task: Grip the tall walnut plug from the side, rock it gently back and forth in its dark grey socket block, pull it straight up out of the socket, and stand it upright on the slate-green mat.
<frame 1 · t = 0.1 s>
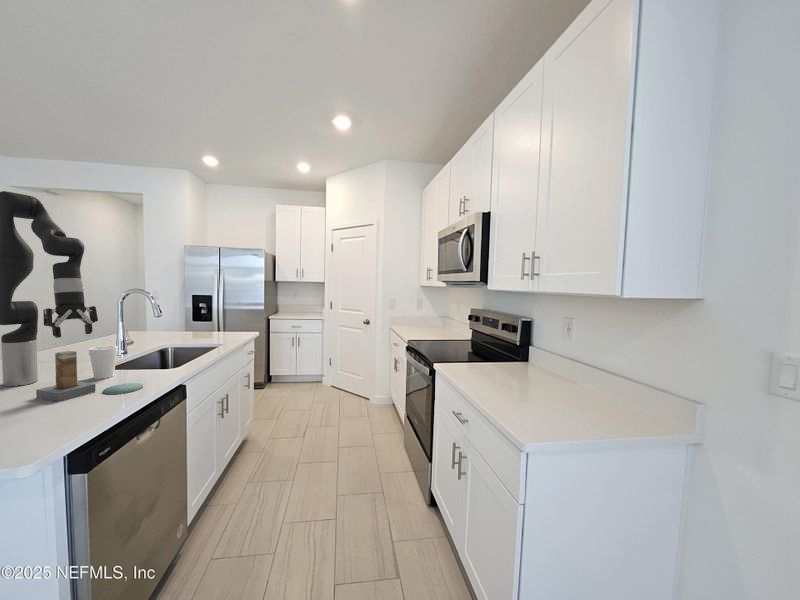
hand: (73, 335, 119), 22 cm above the countertop, tool pointing down, fingers open, 8 cm apart
foam cup: (104, 377, 143), on the countertop
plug: (66, 373, 120), in the socket block
socket block: (66, 394, 121), on the countertop
mat: (123, 389, 128), on the countertop
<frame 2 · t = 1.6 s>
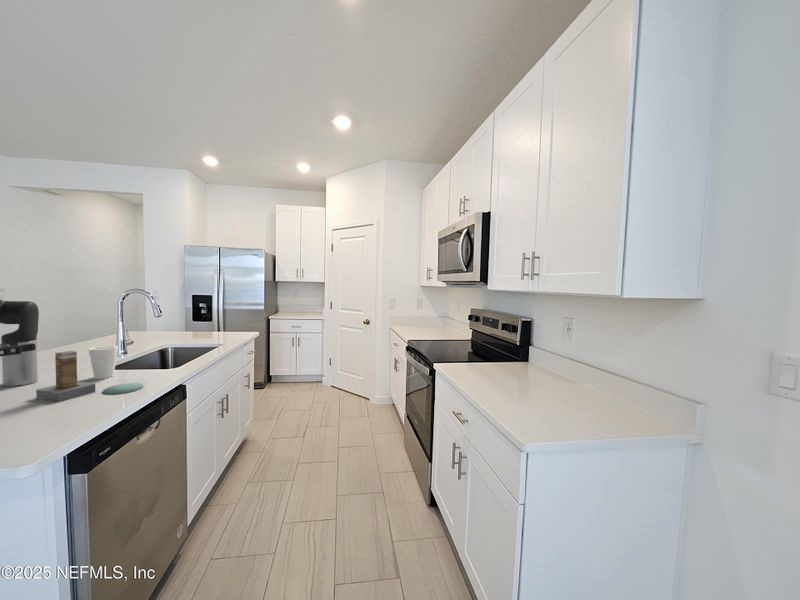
hand: (25, 345, 109), 20 cm above the countertop, tool horizontal, fingers open, 8 cm apart
nothing on the countertop moved.
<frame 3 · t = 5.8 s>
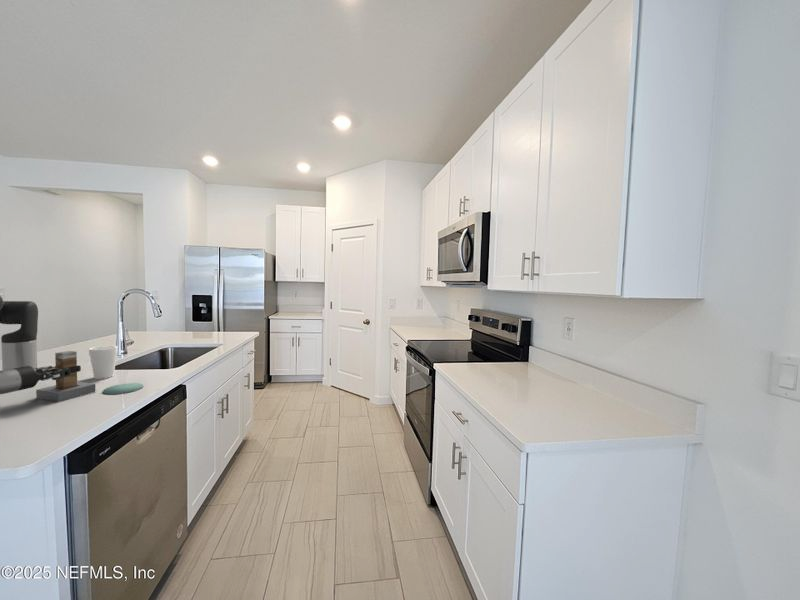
hand: (75, 367, 123), 10 cm above the countertop, tool horizontal, fingers closed on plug, 4 cm apart
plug: (66, 373, 120), in the socket block, touching gripper
everything else where it was.
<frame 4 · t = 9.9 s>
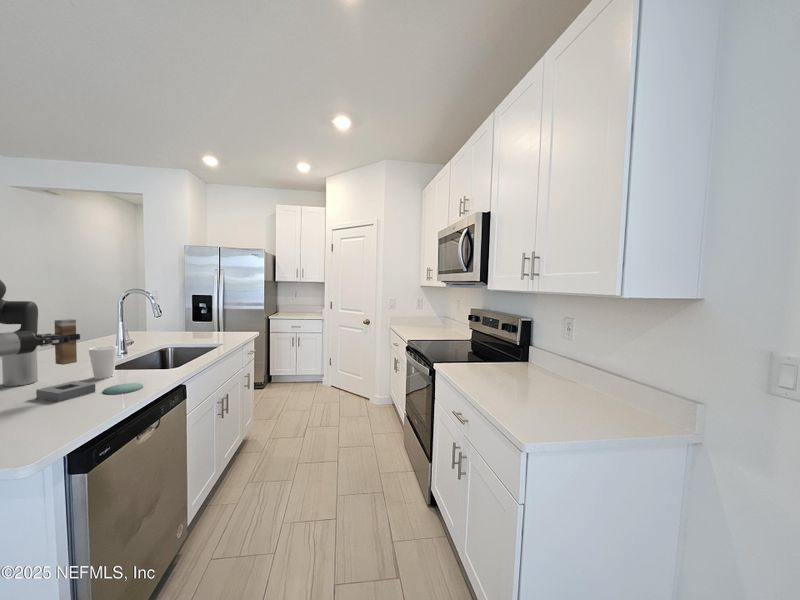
hand: (74, 336, 122), 21 cm above the countertop, tool horizontal, fingers closed on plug, 4 cm apart
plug: (65, 341, 120), point 20 cm above the countertop, touching gripper
everything else where it was.
when the fingers open (11 cm above the countertop, at t = 14.1 s): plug drops 1 cm, resting on mat.
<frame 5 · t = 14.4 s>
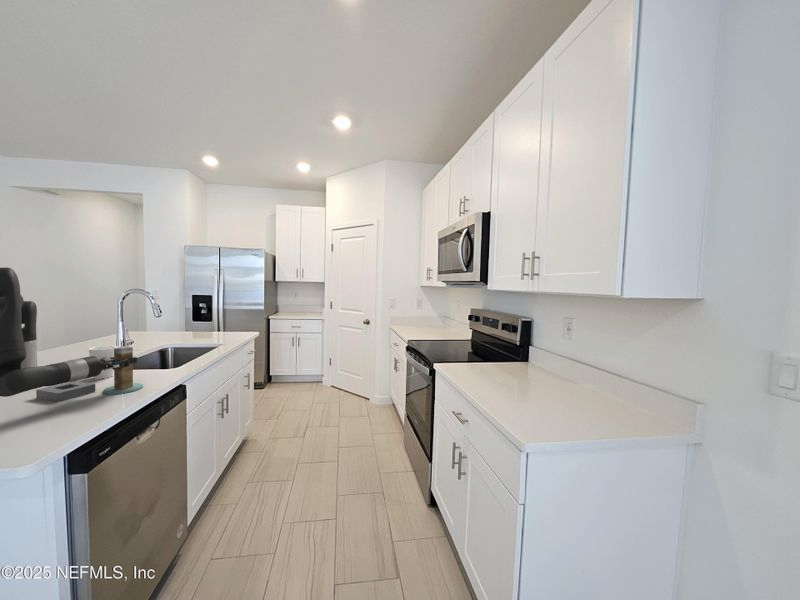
hand: (129, 358, 130), 12 cm above the countertop, tool horizontal, fingers open, 6 cm apart
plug: (123, 367, 128), on the mat, point 9 cm above the countertop
everything else where it was.
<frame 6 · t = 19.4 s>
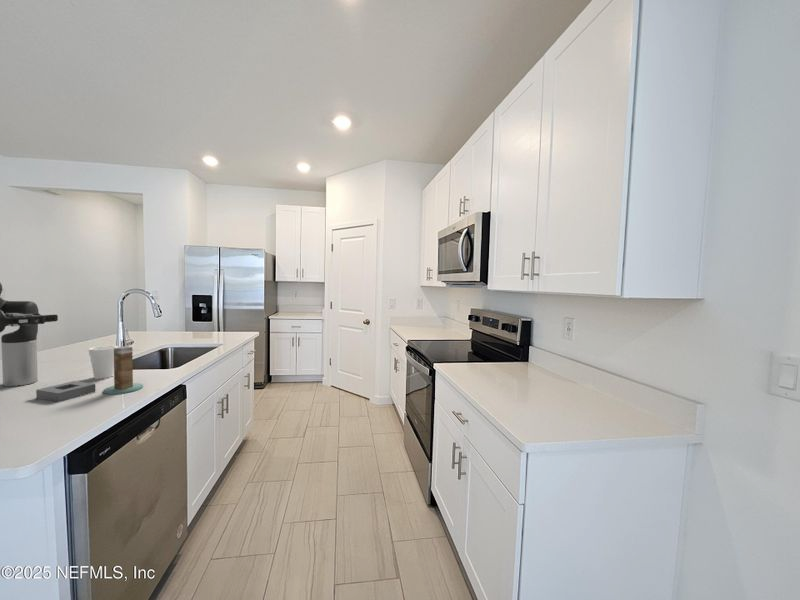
hand: (48, 317, 110), 30 cm above the countertop, tool horizontal, fingers open, 8 cm apart
nothing on the countertop moved.
at the end: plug inside the target area on the mat (0.1 cm from its centre), point 8.6 cm above the mat's base; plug tilted 0°; the gripper is holding nothing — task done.
